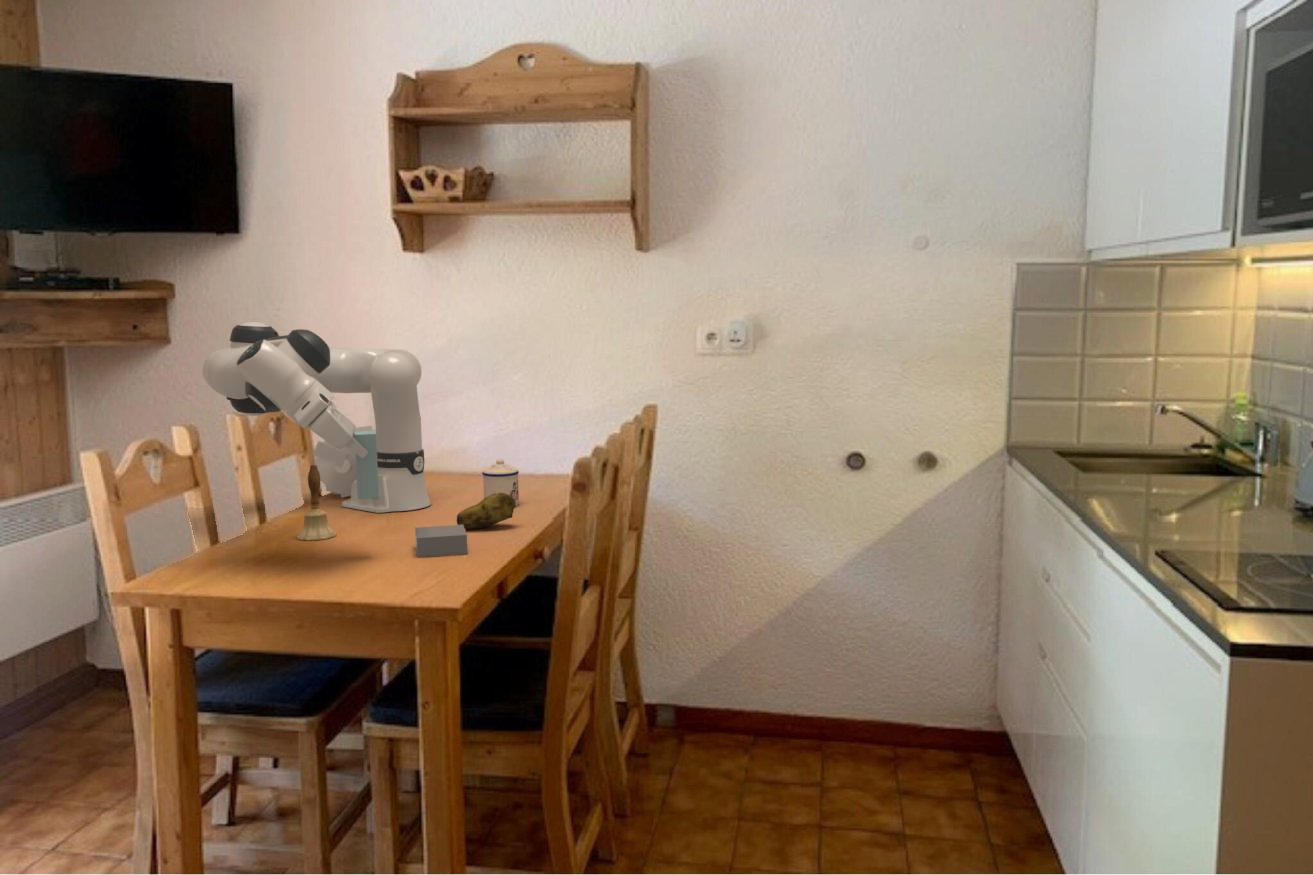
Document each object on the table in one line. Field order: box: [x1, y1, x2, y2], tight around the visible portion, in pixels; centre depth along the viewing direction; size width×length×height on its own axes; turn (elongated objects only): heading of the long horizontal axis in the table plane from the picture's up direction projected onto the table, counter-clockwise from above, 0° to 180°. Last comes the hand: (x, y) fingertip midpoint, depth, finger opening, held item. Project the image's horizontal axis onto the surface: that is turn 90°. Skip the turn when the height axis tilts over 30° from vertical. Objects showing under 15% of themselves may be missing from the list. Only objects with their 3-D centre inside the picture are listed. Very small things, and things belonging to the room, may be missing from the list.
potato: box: [456, 493, 516, 530], centre depth 237 cm, size 8×13×8 cm, turn 87°
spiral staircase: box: [312, 423, 376, 499], centre depth 282 cm, size 18×18×25 cm
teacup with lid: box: [481, 459, 520, 507], centre depth 263 cm, size 12×9×12 cm
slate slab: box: [414, 524, 468, 558], centre depth 217 cm, size 10×10×4 cm
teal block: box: [355, 431, 379, 499], centre depth 210 cm, size 4×5×13 cm
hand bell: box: [296, 464, 337, 541], centre depth 229 cm, size 8×8×16 cm
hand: (366, 453), depth 209 cm, fingers closed on teal block, 5 cm apart
